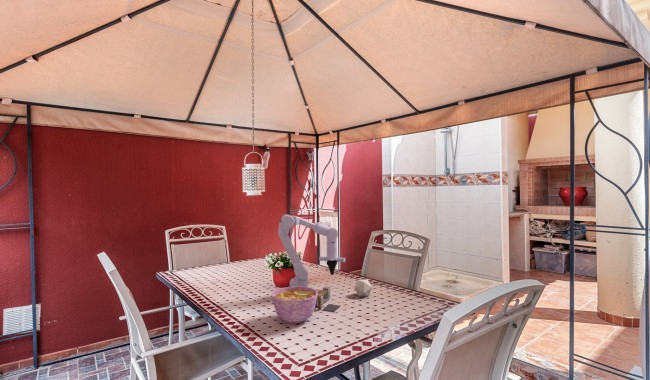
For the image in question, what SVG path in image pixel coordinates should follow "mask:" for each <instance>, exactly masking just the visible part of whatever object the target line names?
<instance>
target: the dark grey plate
mask: <svg viewBox="0 0 650 380" xmlns="http://www.w3.org/2000/svg"><path fill="white" fill-rule="evenodd" d="M340 307H341V305H339V304H338V305H337V304H333V303H332V304H331V303H329V304H326V306H324V308H323V309H322V311H324V312H332V313H335V312H336V311H337V310H338V309H339V308H340Z"/></svg>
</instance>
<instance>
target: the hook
mask: <svg viewBox="0 0 650 380" xmlns="http://www.w3.org/2000/svg"><path fill="white" fill-rule="evenodd" d="M322 290H326V291H327V293H326V294H324V295H323V296H322V297H321V306H323V305H324V304H325V303H326V302H327V301H328V300H330V298H331V287H330V286H323V287H322ZM315 307H318V302H316V305H315Z"/></svg>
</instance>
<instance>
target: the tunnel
mask: <svg viewBox="0 0 650 380" xmlns="http://www.w3.org/2000/svg"><path fill="white" fill-rule="evenodd" d="M315 290H317V292H318V295H317V300H316V302H318V306H317V310H318V311H322V310H323V309H322V305H321V298H323V295H324V294H326V293H327V291H326V290H323V289H315Z"/></svg>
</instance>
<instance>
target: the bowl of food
mask: <svg viewBox="0 0 650 380" xmlns="http://www.w3.org/2000/svg"><path fill="white" fill-rule="evenodd" d="M317 290H318V289H317ZM317 290H316V289H315V288H313V287H309V286H308V287H302V286H294V287H290V286H287V287H282V288H277V289H276V290H274V291H273V292H272V293H271V298H272V303H273V307H274V310H275V313H276V315H277V317H278V318H279V319H280V320H283V321H284V322H286V323H288V324H294V325H295V324H300V323H303V322H304V321H306V320H308V319H309V318H311V317H312V316H313V313H314V311H315V308H316V306H315V305H316V300H317V295H318V292H317Z"/></svg>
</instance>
